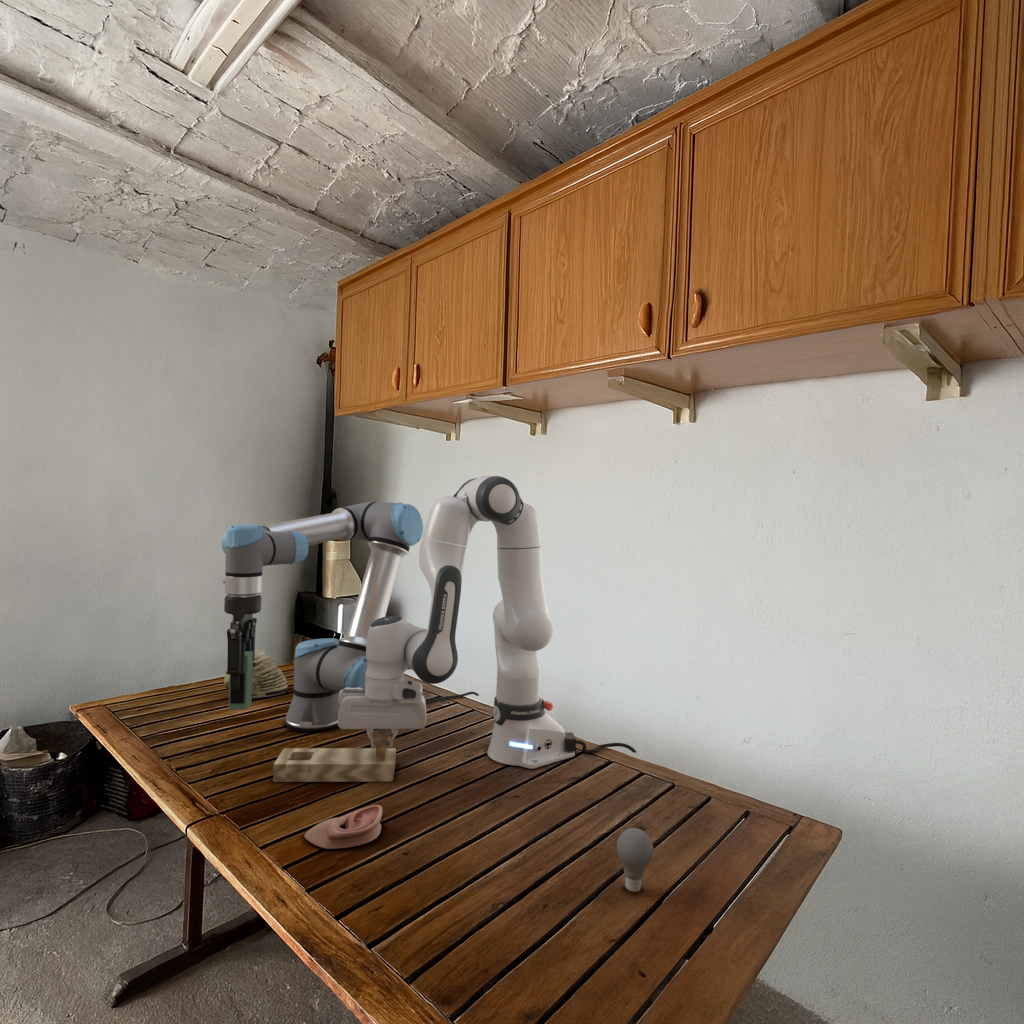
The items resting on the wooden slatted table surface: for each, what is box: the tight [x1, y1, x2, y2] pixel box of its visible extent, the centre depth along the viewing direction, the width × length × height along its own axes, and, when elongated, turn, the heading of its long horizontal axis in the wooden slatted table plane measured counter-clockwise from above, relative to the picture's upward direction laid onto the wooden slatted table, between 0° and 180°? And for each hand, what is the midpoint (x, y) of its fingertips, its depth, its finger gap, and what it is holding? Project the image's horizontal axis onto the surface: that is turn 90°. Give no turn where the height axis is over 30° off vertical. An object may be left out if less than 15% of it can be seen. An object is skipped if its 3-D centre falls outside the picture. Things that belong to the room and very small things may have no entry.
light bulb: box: [616, 827, 654, 893], centre depth 106 cm, size 6×6×10 cm
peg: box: [228, 651, 253, 711], centre depth 140 cm, size 4×4×12 cm
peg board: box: [272, 729, 397, 783], centre depth 145 cm, size 26×9×10 cm, turn 96°
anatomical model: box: [303, 804, 383, 850], centre depth 119 cm, size 13×4×12 cm
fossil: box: [223, 648, 289, 699], centre depth 198 cm, size 9×18×15 cm, turn 132°
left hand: (240, 699), depth 140 cm, fingers closed on peg, 4 cm apart
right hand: (382, 746), depth 146 cm, fingers closed on peg board, 2 cm apart
